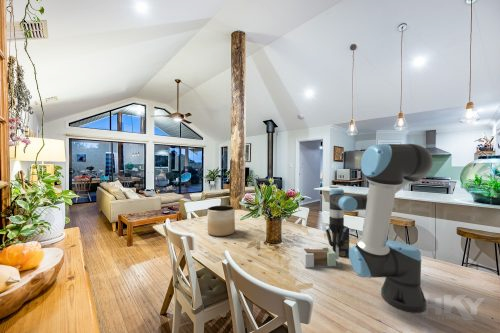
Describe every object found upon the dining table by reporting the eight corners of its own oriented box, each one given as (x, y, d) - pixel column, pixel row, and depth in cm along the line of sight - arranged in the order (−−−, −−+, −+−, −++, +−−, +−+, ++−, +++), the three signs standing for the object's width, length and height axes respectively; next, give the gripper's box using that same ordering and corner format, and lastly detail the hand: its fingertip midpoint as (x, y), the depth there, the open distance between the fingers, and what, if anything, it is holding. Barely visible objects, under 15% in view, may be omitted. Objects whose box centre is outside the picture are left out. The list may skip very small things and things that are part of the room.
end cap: (335, 266, 117) (335, 253, 117) (328, 266, 117) (328, 253, 117) (329, 258, 126) (329, 246, 126) (322, 258, 126) (322, 247, 126)
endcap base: (342, 267, 117) (342, 253, 117) (305, 268, 117) (305, 254, 117) (334, 259, 127) (334, 247, 126) (300, 260, 126) (301, 247, 126)
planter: (212, 227, 189) (212, 205, 188) (237, 228, 186) (237, 205, 185) (203, 236, 167) (203, 210, 166) (231, 237, 164) (231, 211, 163)
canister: (351, 258, 129) (351, 228, 128) (334, 256, 131) (334, 227, 130) (347, 251, 138) (347, 223, 138) (331, 250, 140) (331, 222, 140)
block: (328, 264, 120) (328, 252, 119) (306, 264, 120) (306, 251, 120) (326, 261, 124) (326, 249, 123) (305, 261, 124) (305, 249, 124)
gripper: (344, 214, 125) (344, 255, 126) (322, 214, 125) (322, 255, 126) (351, 218, 118) (351, 261, 118) (327, 218, 118) (327, 261, 118)
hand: (336, 258), depth 122 cm, fingers closed
